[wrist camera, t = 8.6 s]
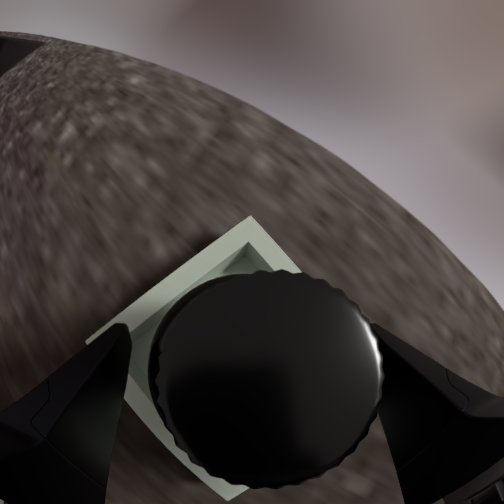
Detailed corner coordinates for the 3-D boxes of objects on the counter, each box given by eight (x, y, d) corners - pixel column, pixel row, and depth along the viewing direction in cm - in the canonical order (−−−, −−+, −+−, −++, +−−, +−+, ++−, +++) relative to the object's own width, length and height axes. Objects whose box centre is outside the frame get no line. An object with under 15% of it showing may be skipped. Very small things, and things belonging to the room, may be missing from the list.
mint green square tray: (225, 481, 13) (227, 501, 10) (103, 343, 15) (85, 341, 13) (360, 365, 17) (382, 366, 14) (245, 234, 19) (250, 215, 16)
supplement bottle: (165, 397, 14) (72, 465, 3) (197, 296, 17) (168, 181, 6) (273, 427, 14) (371, 521, 3) (300, 327, 17) (430, 267, 6)
